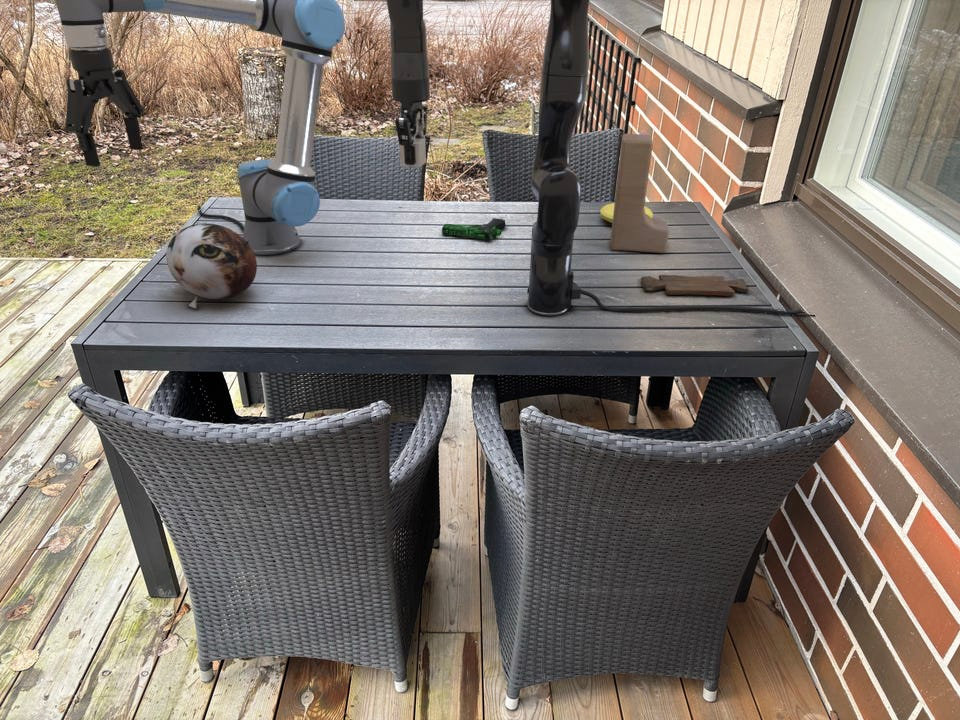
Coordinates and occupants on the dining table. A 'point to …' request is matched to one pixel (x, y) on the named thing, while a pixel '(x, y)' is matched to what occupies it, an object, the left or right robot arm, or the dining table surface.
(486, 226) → the handgun
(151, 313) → the dining table surface
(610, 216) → the yellow rounded disc
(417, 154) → the block
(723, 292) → the dark wooden board
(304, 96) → the left robot arm
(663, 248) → the decorative block
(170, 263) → the cat face balloon
